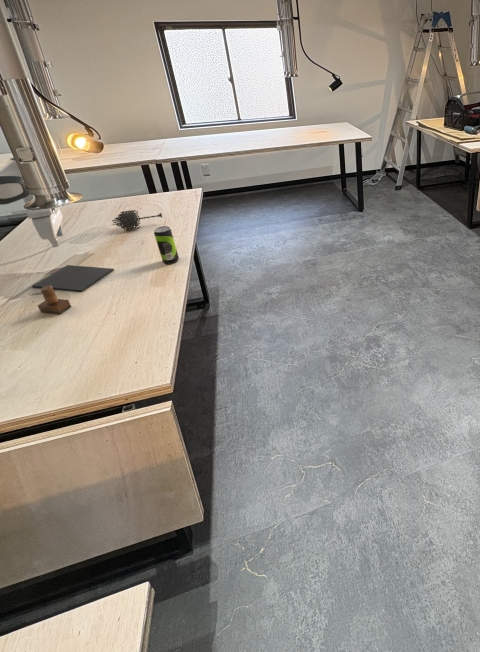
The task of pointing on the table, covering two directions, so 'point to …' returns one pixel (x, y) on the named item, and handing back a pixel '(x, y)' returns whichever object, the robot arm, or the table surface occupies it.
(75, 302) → the table surface
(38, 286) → the mat
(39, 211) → the robot arm
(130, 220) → the massage brush
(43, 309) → the wooden rubber stamp
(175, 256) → the beverage can
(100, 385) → the table surface
